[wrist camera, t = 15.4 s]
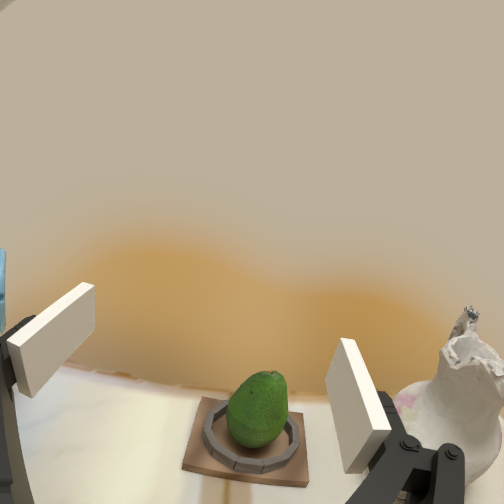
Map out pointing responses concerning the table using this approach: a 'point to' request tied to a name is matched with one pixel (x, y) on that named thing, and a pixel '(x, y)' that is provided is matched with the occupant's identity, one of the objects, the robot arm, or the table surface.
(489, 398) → the ceramic pitcher
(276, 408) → the avocado
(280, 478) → the ring stand
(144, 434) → the table surface
